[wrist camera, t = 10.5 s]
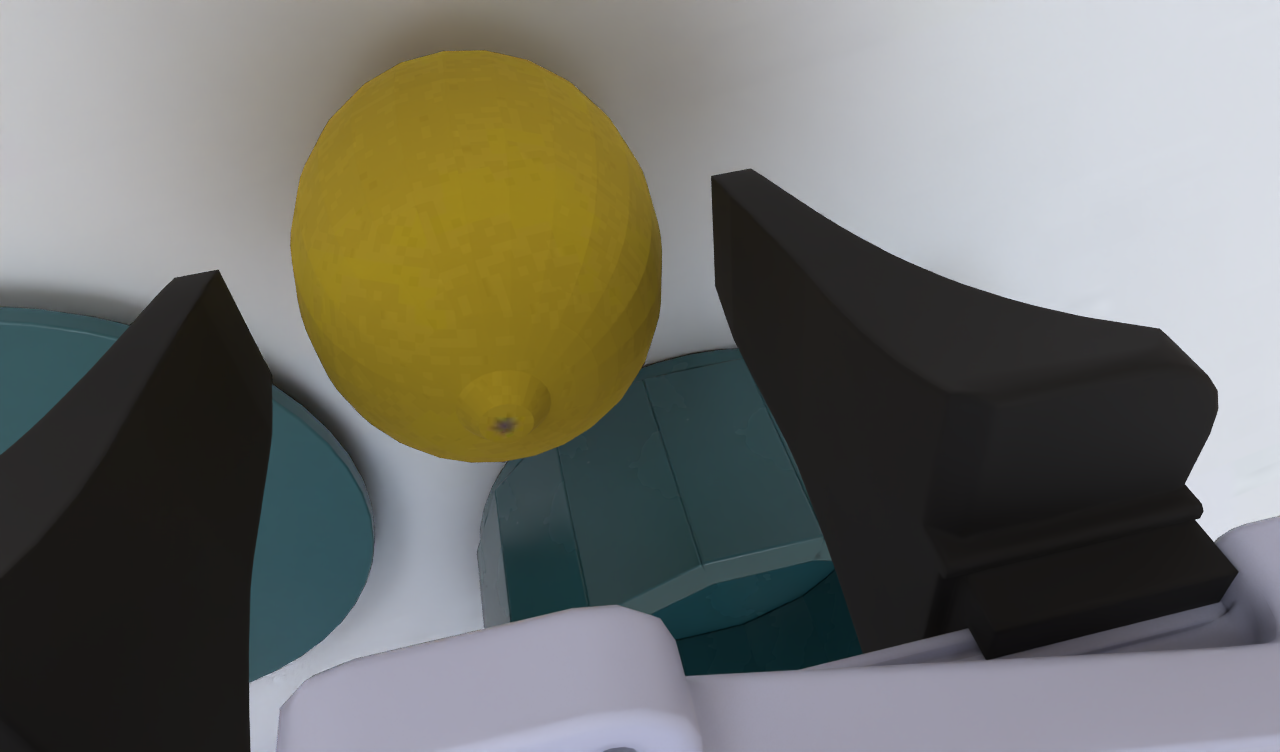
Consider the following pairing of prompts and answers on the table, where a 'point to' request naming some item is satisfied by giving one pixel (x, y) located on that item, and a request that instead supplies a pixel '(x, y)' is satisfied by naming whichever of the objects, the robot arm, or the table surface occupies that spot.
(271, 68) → the table surface
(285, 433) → the lid
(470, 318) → the lemon
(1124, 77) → the table surface
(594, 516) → the pot
